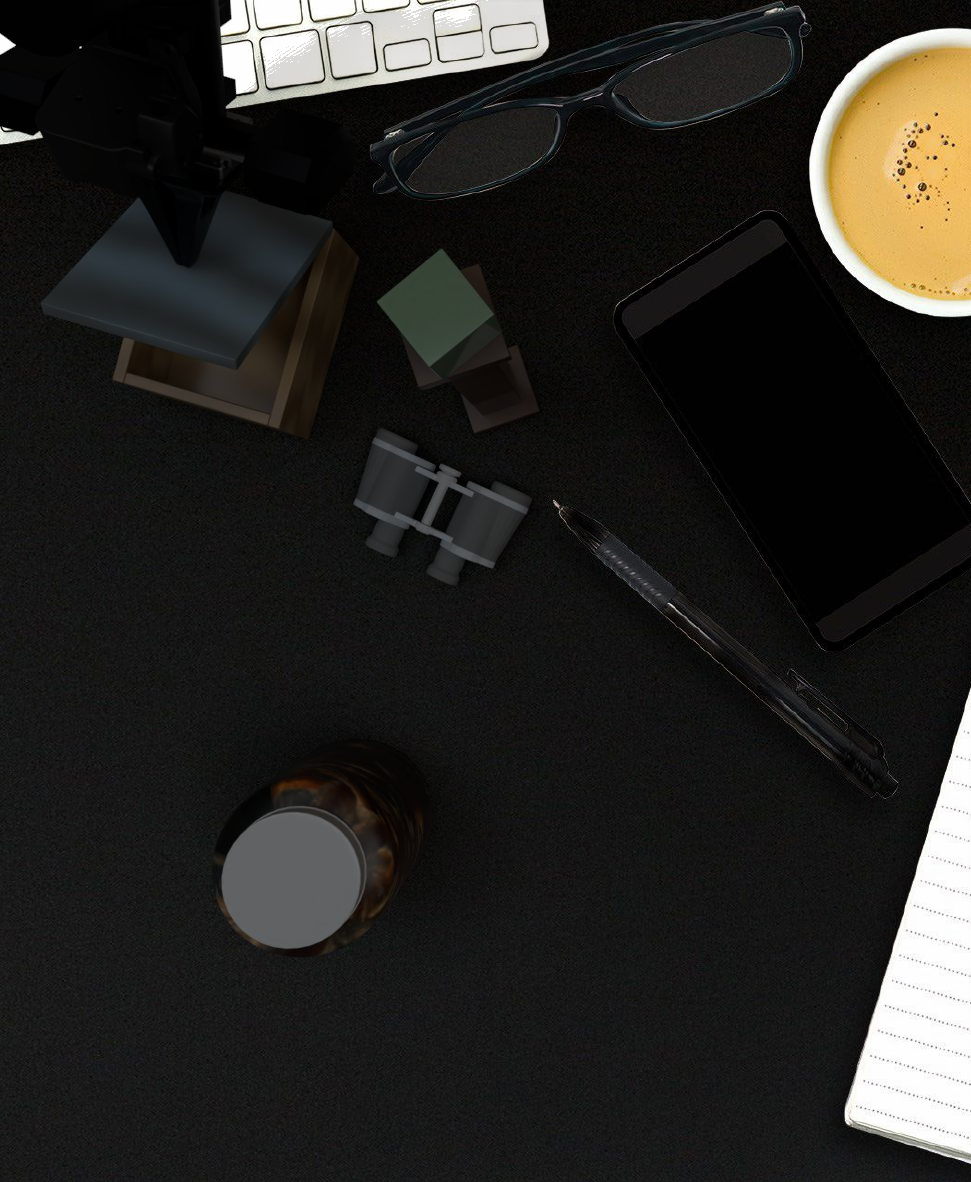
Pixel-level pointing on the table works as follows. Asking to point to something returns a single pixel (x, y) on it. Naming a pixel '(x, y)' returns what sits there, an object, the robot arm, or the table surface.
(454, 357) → the cube
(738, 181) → the table surface
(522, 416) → the pillar
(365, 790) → the jar
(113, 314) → the lid
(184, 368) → the box
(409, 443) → the binoculars
